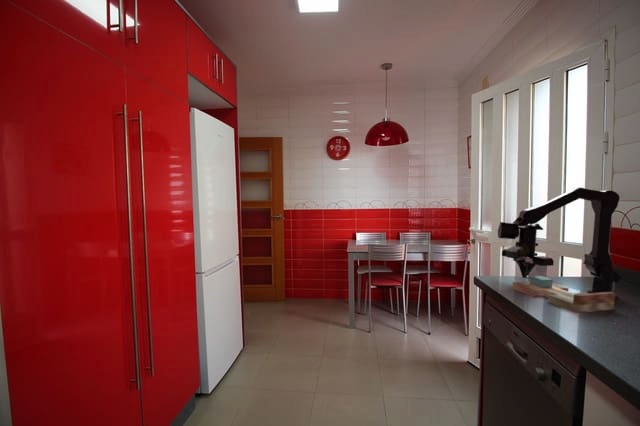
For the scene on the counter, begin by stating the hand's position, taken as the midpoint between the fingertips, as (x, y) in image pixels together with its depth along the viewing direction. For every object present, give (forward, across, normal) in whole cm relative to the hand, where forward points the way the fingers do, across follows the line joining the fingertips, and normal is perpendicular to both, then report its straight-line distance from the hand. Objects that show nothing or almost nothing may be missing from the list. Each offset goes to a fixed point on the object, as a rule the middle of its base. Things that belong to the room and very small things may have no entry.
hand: (524, 277), depth 123 cm
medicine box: (+4, -8, +16) cm, 18 cm away
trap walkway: (+4, +14, 0) cm, 15 cm away
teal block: (+1, +7, 0) cm, 7 cm away
